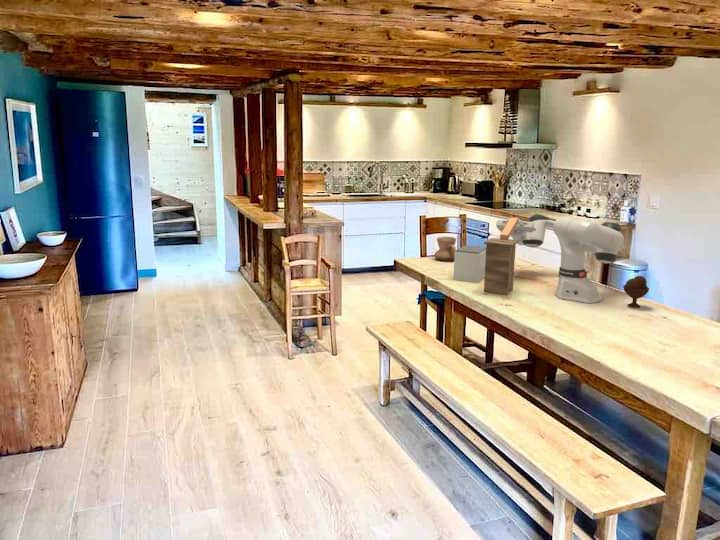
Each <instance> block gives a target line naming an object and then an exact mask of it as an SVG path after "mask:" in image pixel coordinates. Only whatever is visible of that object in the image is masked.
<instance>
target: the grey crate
mask: <svg viewBox="0 0 720 540" xmlns="http://www.w3.org/2000/svg"><path fill="white" fill-rule="evenodd" d="M485 260H486V246H479V245H467V244H465V245H463V246H461V247H459V248H457V249H456V251H455V257H454V260H453V278H452V279H453V280H455V281H463V282H470V283H479V282H481V281H482V280H484V278H485Z"/></svg>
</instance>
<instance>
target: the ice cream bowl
mask: <svg viewBox="0 0 720 540" xmlns="http://www.w3.org/2000/svg"><path fill="white" fill-rule="evenodd" d="M622 287H623V290H624V292H625V294H626V295H627V296H628V297H630V298H632V302H630V303H629V304H627V306H628V307H629V308H633V309H640V308H641V305H640V304H638V303H637V301H638V299H641V298H642V297H643V298H644V296H646V295H647V294H648V293H649V291H650V287H648V285H647V279H646V277H644V276H643V275H636V276H634V277H633V278H629V279H628V280H627V281H626V282H625V284H624V285H623V286H622Z"/></svg>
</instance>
